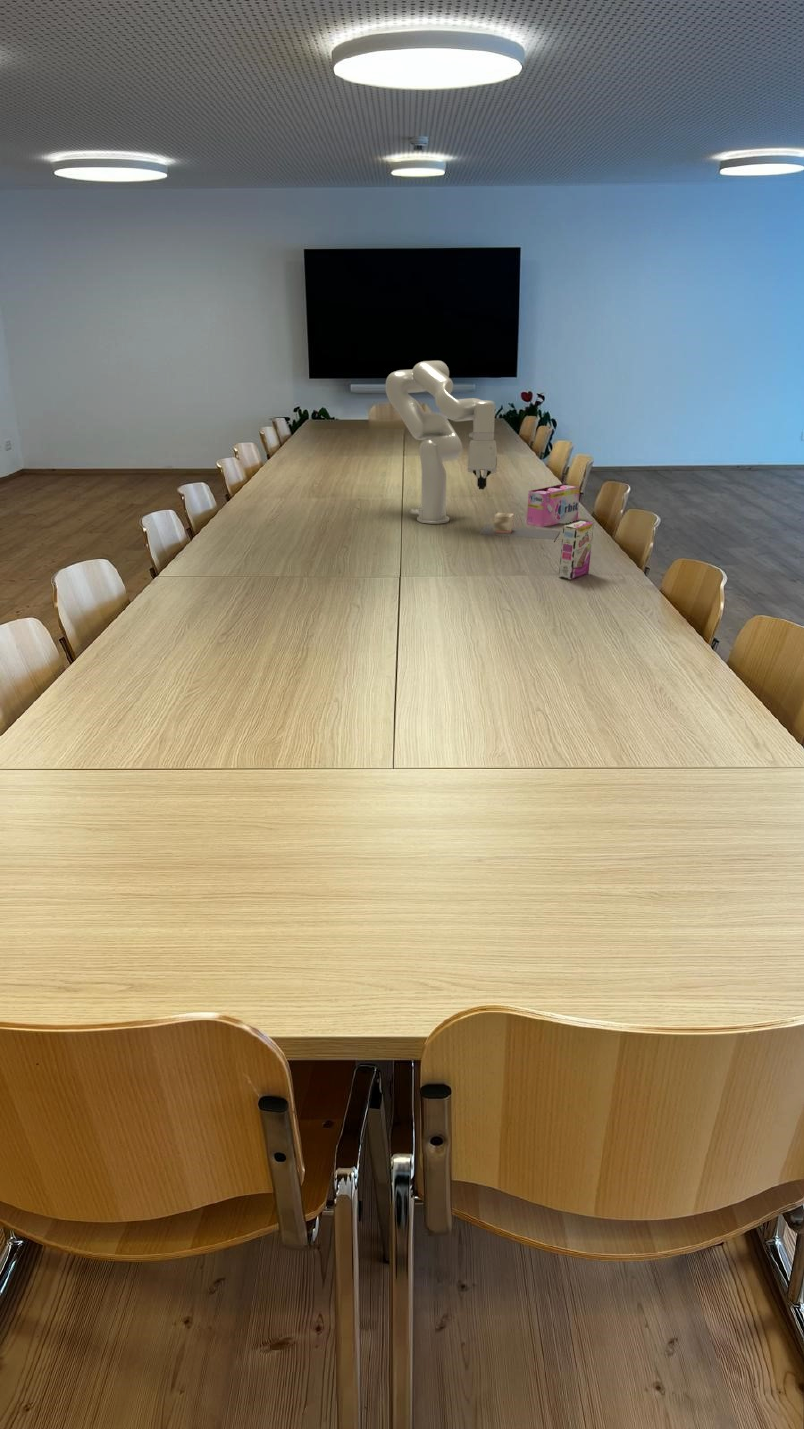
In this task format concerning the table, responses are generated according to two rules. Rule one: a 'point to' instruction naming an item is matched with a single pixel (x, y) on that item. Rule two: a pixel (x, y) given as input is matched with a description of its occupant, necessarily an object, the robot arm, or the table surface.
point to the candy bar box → (576, 550)
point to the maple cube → (503, 523)
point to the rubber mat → (523, 533)
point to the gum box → (553, 505)
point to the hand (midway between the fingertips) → (481, 488)
